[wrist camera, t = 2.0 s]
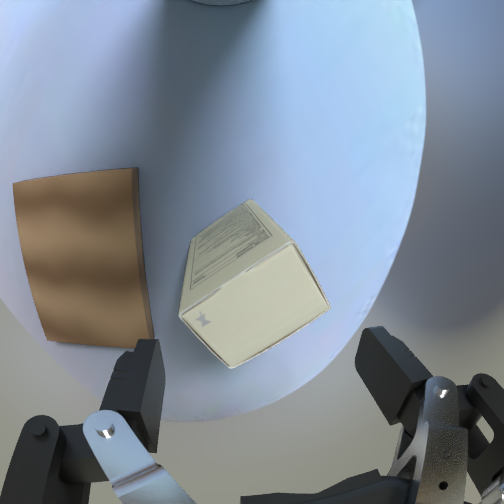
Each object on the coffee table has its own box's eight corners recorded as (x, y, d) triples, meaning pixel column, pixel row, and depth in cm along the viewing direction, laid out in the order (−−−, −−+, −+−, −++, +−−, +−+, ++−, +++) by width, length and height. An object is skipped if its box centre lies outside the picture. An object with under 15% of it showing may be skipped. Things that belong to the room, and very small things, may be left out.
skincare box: (218, 276, 25) (225, 375, 14) (189, 237, 24) (169, 318, 12) (281, 236, 25) (336, 311, 13) (254, 194, 23) (294, 239, 12)
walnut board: (24, 180, 20) (12, 183, 18) (138, 167, 21) (131, 168, 19) (54, 329, 25) (47, 340, 23) (154, 336, 26) (151, 348, 25)
